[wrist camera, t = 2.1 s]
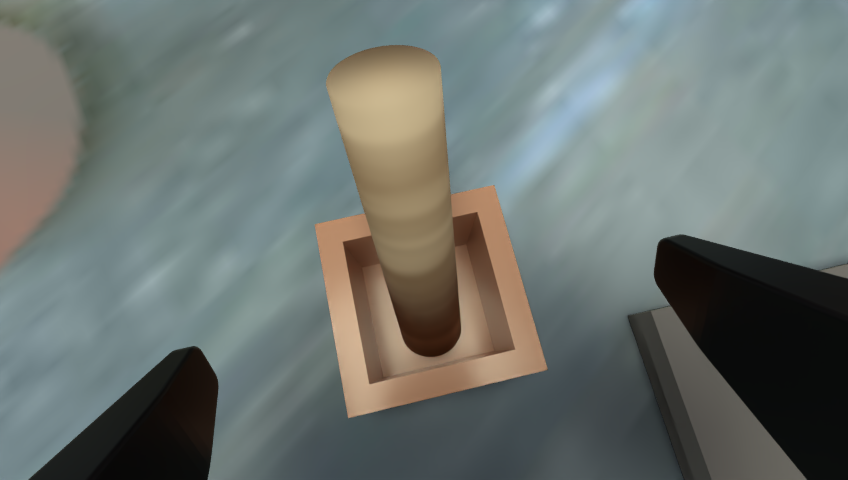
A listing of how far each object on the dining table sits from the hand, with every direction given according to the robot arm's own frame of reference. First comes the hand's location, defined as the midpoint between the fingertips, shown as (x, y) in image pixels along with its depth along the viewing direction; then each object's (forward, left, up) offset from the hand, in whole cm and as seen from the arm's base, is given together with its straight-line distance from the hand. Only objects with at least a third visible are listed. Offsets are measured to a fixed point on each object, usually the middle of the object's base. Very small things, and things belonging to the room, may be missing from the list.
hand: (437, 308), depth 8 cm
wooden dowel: (+2, +1, -10) cm, 10 cm away
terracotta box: (+1, 0, -10) cm, 11 cm away
